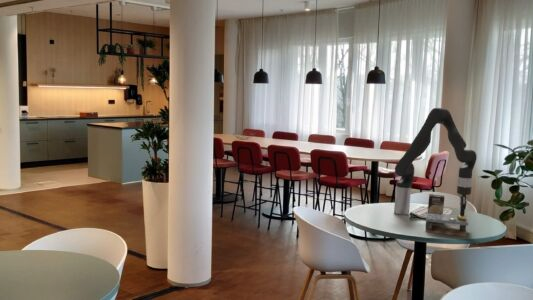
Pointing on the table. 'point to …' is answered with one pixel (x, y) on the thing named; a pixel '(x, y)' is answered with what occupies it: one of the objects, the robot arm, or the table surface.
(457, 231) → the walnut base
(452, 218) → the level plate
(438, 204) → the coffee box
